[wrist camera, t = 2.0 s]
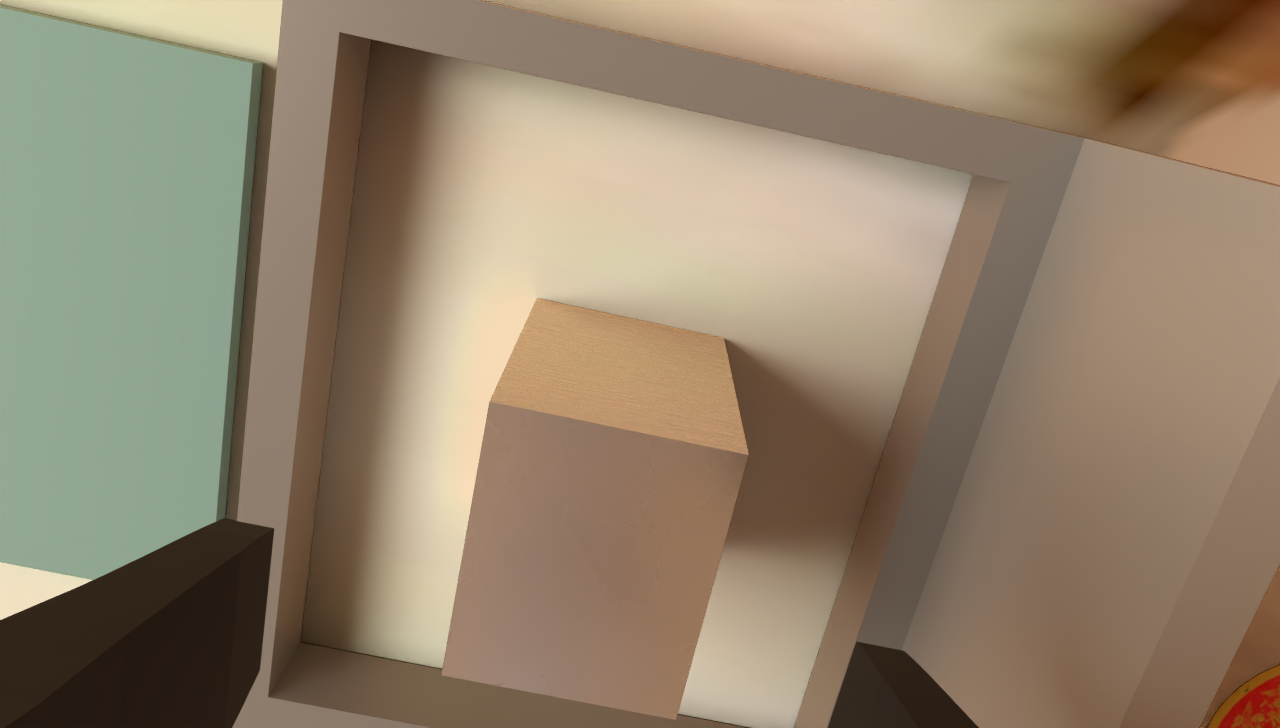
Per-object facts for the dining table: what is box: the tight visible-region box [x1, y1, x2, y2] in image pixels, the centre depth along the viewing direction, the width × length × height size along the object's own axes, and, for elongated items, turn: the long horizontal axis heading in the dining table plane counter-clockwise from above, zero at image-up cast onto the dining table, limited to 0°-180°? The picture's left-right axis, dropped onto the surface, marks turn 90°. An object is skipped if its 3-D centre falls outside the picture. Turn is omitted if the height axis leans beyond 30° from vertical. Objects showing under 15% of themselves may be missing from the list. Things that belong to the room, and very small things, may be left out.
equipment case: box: [232, 0, 1280, 728], centre depth 17 cm, size 16×15×9 cm
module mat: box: [0, 4, 263, 580], centre depth 20 cm, size 12×8×1 cm, turn 168°
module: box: [442, 298, 749, 720], centre depth 18 cm, size 5×4×6 cm
